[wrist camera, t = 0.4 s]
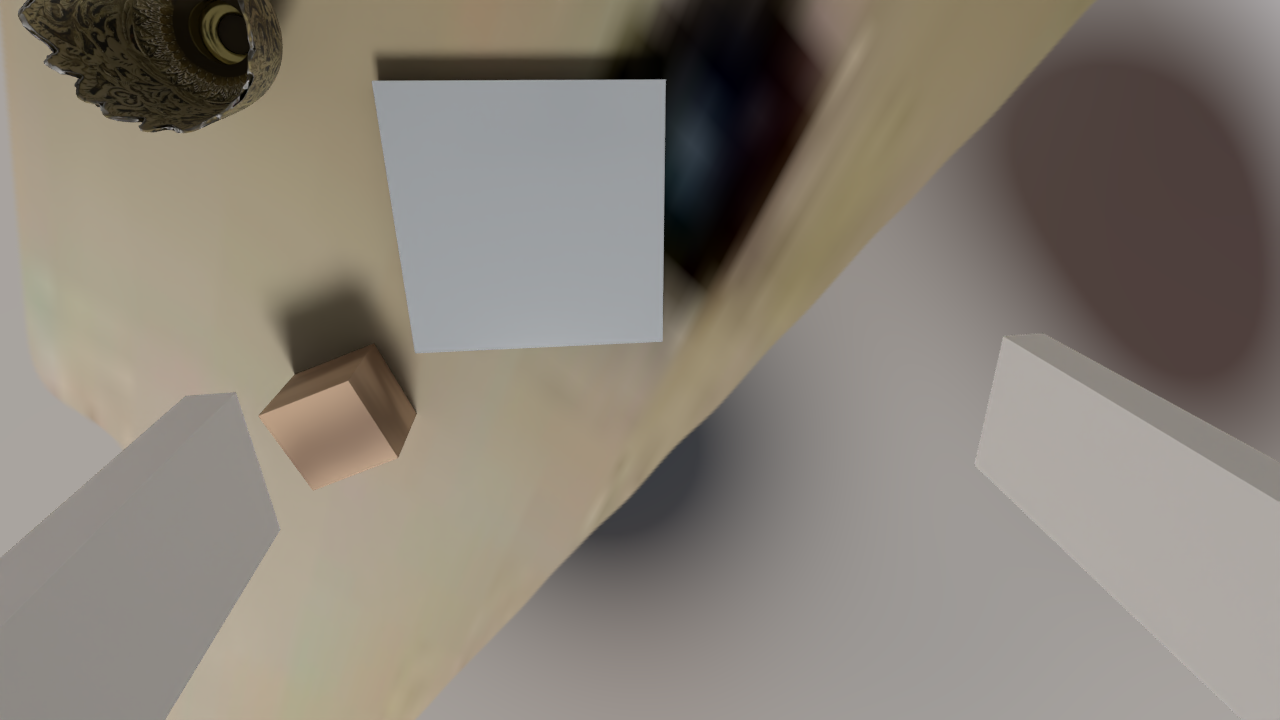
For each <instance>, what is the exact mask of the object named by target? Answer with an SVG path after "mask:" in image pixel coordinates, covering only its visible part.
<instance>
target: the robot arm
mask: <svg viewBox="0 0 1280 720" xmlns="http://www.w3.org/2000/svg"><path fill="white" fill-rule="evenodd" d="M974 465H975V466H976V467H977V468H978V469H979V470H980V471H981V472H982V473H983V474H984V475H985V476H986V477H987V478H988V479H989V480H990V481H992V482H993V483H994V484H995V485H996V486H997V487H998V488H999V489H1000V490H1001V491H1002V492H1003V493H1004V494H1005V495H1006V496H1007V497H1008V498H1009V499H1010V500H1011V501H1013V502H1014V503H1015V504H1016V505H1017V506H1018V507H1019V508H1020V509H1021V510H1022V511H1023V512H1024V513H1025V514H1026V515H1027V516H1028V517H1029V518H1030V519H1031V520H1033V522H1034V523H1036V524H1037V525H1038V526H1039V527H1040V528H1041V529H1042V530H1043V531H1044V532H1045V533H1046V534H1047V535H1048V536H1049V537H1050V538H1051V539H1052V540H1053V541H1054V542H1055V543H1056V544H1058V545H1059V546H1060V547H1061V548H1062V549H1063V550H1064V551H1065V552H1066V553H1067V554H1068V555H1069V556H1070V557H1071V558H1072V559H1073V560H1074V561H1075V562H1076V563H1077V564H1079V565H1080V566H1081V567H1082V568H1083V569H1084V570H1085V571H1086V572H1087V573H1088V574H1089V575H1090V576H1091V577H1092V578H1093V579H1094V580H1095V581H1096V582H1097V583H1099V585H1101V586H1102V587H1103V588H1104V589H1105V590H1106V591H1107V592H1108V593H1109V594H1110V595H1111V596H1112V597H1113V598H1114V599H1115V600H1116V601H1117V602H1118V603H1119V604H1121V605H1122V606H1123V607H1124V608H1125V609H1126V610H1127V611H1128V612H1129V613H1130V614H1131V615H1132V616H1133V617H1134V618H1135V619H1136V620H1138V622H1139V623H1140V624H1141V625H1143V626H1144V627H1145V628H1146V629H1147V630H1148V631H1149V632H1150V633H1151V634H1152V635H1153V636H1154V637H1155V638H1156V639H1157V640H1158V641H1159V642H1160V643H1161V644H1163V646H1165V647H1166V648H1167V649H1168V650H1169V651H1170V652H1171V653H1172V654H1173V655H1174V656H1175V657H1176V658H1177V659H1178V660H1179V661H1180V662H1181V663H1182V664H1183V665H1184V666H1185V667H1187V668H1188V669H1189V670H1190V671H1191V672H1192V673H1193V674H1194V675H1195V676H1196V677H1197V678H1198V679H1199V680H1200V681H1201V682H1202V683H1203V684H1204V685H1205V686H1207V687H1208V688H1209V689H1210V690H1211V691H1212V692H1213V693H1214V694H1215V695H1216V696H1217V697H1218V698H1219V699H1220V700H1221V701H1222V702H1223V703H1224V704H1225V705H1226V706H1228V707H1229V708H1230V709H1231V710H1232V711H1233V712H1234V713H1235V714H1236V715H1237V716H1238V717H1239V718H1240V719H1241V720H1280V462H1278V461H1276V460H1275V459H1273V458H1271V457H1269V456H1267V455H1265V454H1264V453H1262V452H1260V451H1258V450H1256V449H1254V448H1252V447H1250V446H1249V445H1247V444H1245V443H1243V442H1241V441H1240V440H1238V439H1236V438H1234V437H1232V436H1231V435H1228V434H1227V433H1225V432H1223V431H1221V430H1219V429H1218V428H1216V427H1214V426H1212V425H1210V424H1208V423H1207V422H1204V421H1203V420H1201V419H1199V418H1198V417H1196V416H1194V415H1192V414H1190V413H1188V412H1187V411H1185V410H1183V409H1181V408H1179V407H1177V406H1175V405H1174V404H1172V403H1170V402H1168V401H1166V400H1165V399H1163V398H1161V397H1159V396H1157V395H1155V394H1153V393H1152V392H1150V391H1148V390H1146V389H1144V388H1143V387H1141V386H1139V385H1137V384H1135V383H1133V382H1132V381H1130V380H1128V379H1126V378H1124V377H1122V376H1120V375H1119V374H1117V373H1115V372H1113V371H1111V370H1110V369H1108V368H1106V367H1104V366H1102V365H1100V364H1099V363H1097V362H1095V361H1093V360H1091V359H1089V358H1087V357H1086V356H1084V355H1082V354H1080V353H1078V352H1077V351H1075V350H1073V349H1071V348H1069V347H1067V346H1065V345H1064V344H1062V343H1060V342H1058V341H1056V340H1055V339H1053V338H1051V337H1049V336H1047V335H1045V334H1044V333H1040V334H1026V335H1012V336H1003V339H1002V344H1001V348H1000V353H999V357H998V362H997V366H996V371H995V375H994V379H993V384H992V389H991V393H990V397H989V402H988V407H987V411H986V416H985V420H984V424H983V429H982V433H981V438H980V442H979V447H978V451H977V455H976V460H975V464H974ZM279 531H280V527H279V524H278V521H277V517H276V514H275V511H274V508H273V505H272V502H271V499H270V496H269V493H268V490H267V487H266V484H265V480H264V477H263V474H262V471H261V468H260V465H259V462H258V459H257V456H256V453H255V450H254V447H253V444H252V440H251V437H250V434H249V431H248V428H247V425H246V422H245V419H244V416H243V413H242V410H241V407H240V403H239V400H238V397H237V394H236V392H233V393H220V394H206V395H192V396H185V397H184V398H183V399H181V400H180V401H179V402H178V403H177V404H176V405H175V406H173V407H172V408H171V409H170V410H169V411H168V412H167V413H165V414H164V415H163V416H162V417H161V418H160V419H159V420H157V421H156V422H155V423H154V424H153V425H152V426H151V427H149V428H148V429H147V430H146V431H145V432H144V433H143V434H141V435H140V436H139V437H138V438H137V439H136V440H135V441H133V442H132V443H131V444H130V445H129V446H128V447H127V448H125V449H124V450H123V451H122V452H121V453H120V454H119V455H117V456H116V457H115V458H114V459H113V460H112V461H111V462H110V463H109V464H107V465H106V466H105V467H104V468H103V469H101V470H100V471H99V472H98V473H97V474H96V475H95V476H94V477H92V478H91V479H90V480H89V481H88V482H87V483H86V484H84V486H82V487H81V488H80V489H79V490H78V491H76V492H75V493H74V494H73V495H72V496H71V497H69V498H68V499H67V500H66V501H65V502H64V503H63V504H61V505H60V506H59V507H58V508H57V509H56V510H55V511H53V512H52V513H51V514H50V515H49V516H48V517H47V518H45V519H44V520H43V521H42V522H41V523H40V524H39V525H37V526H36V527H35V528H34V529H33V530H32V531H31V532H30V533H28V534H27V535H26V536H25V537H24V538H23V539H21V540H20V541H19V542H18V543H17V544H16V545H15V546H13V547H12V548H11V549H10V550H9V551H8V552H7V553H6V554H4V555H3V556H2V557H1V558H0V720H165V719H166V717H167V716H168V714H169V712H170V711H171V709H172V707H173V706H174V704H175V703H176V701H177V699H178V698H179V696H180V694H181V693H182V691H183V689H184V688H185V686H186V684H187V683H188V681H189V679H190V678H191V676H192V674H193V673H194V671H195V670H196V668H197V666H198V665H199V663H200V661H201V660H202V658H203V656H204V655H205V653H206V651H207V650H208V648H209V646H210V645H211V643H212V641H213V640H214V638H215V636H216V635H217V633H218V632H219V630H220V628H221V627H222V625H223V623H224V622H225V620H226V618H227V617H228V615H229V613H230V612H231V610H232V608H233V607H234V605H235V603H236V602H237V600H238V599H239V597H240V595H241V594H242V592H243V590H244V589H245V587H246V585H247V584H248V582H249V580H250V579H251V577H252V575H253V574H254V572H255V570H256V569H257V567H258V565H259V564H260V562H261V561H262V559H263V557H264V556H265V554H266V552H267V551H268V549H269V547H270V546H271V544H272V542H273V541H274V539H275V537H276V536H277V534H278V532H279Z"/></svg>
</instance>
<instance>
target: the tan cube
mask: <svg viewBox="0 0 1280 720" xmlns="http://www.w3.org/2000/svg"><path fill="white" fill-rule="evenodd" d="M416 414H417V413H416V412H415V410H414V408H413V407H412V405H411V404H410V402H409V400H408V399H407V397H406V395H405V394H404V392H403V390H402V389H401V387H400V385H399V384H398V382H397V380H396V379H395V377H394V375H393V374H392V372H391V371H390V369H389V367H388V366H387V364H386V362H385V361H384V359H383V357H382V356H381V354H380V352H379V351H378V349H377V347H376V346H375V344H371V345H369V346H366V347H364V348H361V349H358V350H356V351H353V352H351V353H348V354H346V355H343V356H341V357H338V358H336V359H333V360H331V361H328V362H325V363H323V364H320V365H318V366H315V367H313V368H310V369H308V370H305V371H303V372H300V373H298V374H295V375H294V376H293V377H292V378H291V379H290V380H289V382H288V383H287V384H286V385H285V386H284V387H283V388H282V390H281V391H280V392H279V393H278V394H277V395H276V396H275V398H274V399H273V400H272V401H271V402H270V403H269V404H268V405H267V407H266V408H265V409H264V410H263V411H262V412H261V413H260V415H259V418H260V419H261V420H262V422H263V423H264V424H265V426H266V427H267V429H268V430H269V431H270V433H271V434H272V435H273V437H274V438H275V439H276V441H277V442H278V444H279V445H280V446H281V448H282V449H283V450H284V452H285V453H286V454H287V456H288V457H289V458H290V460H291V461H292V463H293V464H294V465H295V467H296V468H297V469H298V471H299V472H300V473H301V475H302V476H303V478H304V479H305V480H306V482H307V483H308V484H309V486H310V487H311V488H312V490H316V489H318V488H321V487H324V486H326V485H329V484H332V483H334V482H337V481H339V480H342V479H345V478H347V477H350V476H352V475H355V474H358V473H360V472H363V471H365V470H368V469H371V468H373V467H376V466H378V465H381V464H384V463H386V462H389V461H391V460H394V459H397V458H398V457H399V454H400V452H401V450H402V447H403V445H404V443H405V440H406V438H407V435H408V433H409V431H410V428H411V426H412V424H413V421H414V419H415V416H416Z"/></svg>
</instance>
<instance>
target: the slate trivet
mask: <svg viewBox="0 0 1280 720" xmlns="http://www.w3.org/2000/svg"><path fill="white" fill-rule="evenodd" d="M372 85H373V92H374V98H375V104H376V110H377V117H378V123H379V129H380V136H381V142H382V148H383V154H384V161H385V167H386V173H387V179H388V186H389V192H390V198H391V205H392V211H393V217H394V223H395V230H396V236H397V242H398V249H399V255H400V261H401V267H402V274H403V280H404V286H405V292H406V299H407V305H408V311H409V318H410V324H411V330H412V336H413V343H414V349H415V353H430V352H451V351H472V350H493V349H514V348H536V347H557V346H578V345H599V344H621V343H642V342H662V337H663V254H664V172H665V89H666V79H606V80H387V81H372Z"/></svg>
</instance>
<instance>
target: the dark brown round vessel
mask: <svg viewBox="0 0 1280 720" xmlns="http://www.w3.org/2000/svg"><path fill="white" fill-rule="evenodd" d="M227 15H238V16H240V17H242V18H244V19H245V22H246V27H247V34H248V42H249V46H250V50H249V52H248V53H245V54H237V53H234V52H232V51H230V50H229V49H227V48H226V47H225V46H224V45H223V43H222V42H221V40H220V38H219V35H218V24H219V22H220V20H221V19H222V18H223V17H225V16H227ZM18 17H19V19H20V21H21V23H22V24H23V26H24V27H25V28H26V29H27V30H28V31H29V32H30V33H31V34H32V35H33V36H35V37H36V38H37V39H39V40H41V41H43V42H44V43H45V44H46V45H47V46H48V47H49V48H50V49H51V51H52V52H53V53H51V54H50V55H47V59H46V60H45V61H44V64H45V65H46V66H48V67H49V68H51V69H53V70H55V71H57V72H58V73H60V74H66V75H70V76H73V77H77V78H78V80H77V82H76V83H75V85H74V86H75V87H76V95H77V97H78V98H79V99H80V100H82V101H84V102H86V103H91V104H95V105H96V106H97V107H100V108H101V111H102V113H103V115H104V116H105V117H107V118H109V119H112V120H116V121H123V122H142V124H141V125H139V128H140V130H141V131H144V132H157V131H162V130H173V131H176V132H177V133H188V132H193V131H196V130H199V129H201V128H203V127H205V126H207V125H209V124H211V123H214V122H216V121H219V120H221V119H223V118H226V117H228V116H230V115H232V114H234V113H237V112H239V111H241V110H243V109H245V108H246V107H248V106H250V105H251V104H253V103H254V102H256V101H257V100H258V99H259V98H260V97H262V96H263V95H264V94H265V93H266V91H267V90H268V89H269V88H270V86H271V85H272V83H273V82H274V80H275V78H276V76H277V74H278V72H279V68H280V65H281V60H282V49H283V47H282V36H281V30H280V26H279V22H278V19H277V17H276V14H275V12H274V9H273V7H272V5H271V3H270V2H269V0H27V1H26V2H25V3H24V5H23V6H22V7H21V8H20V9H19V11H18Z"/></svg>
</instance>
